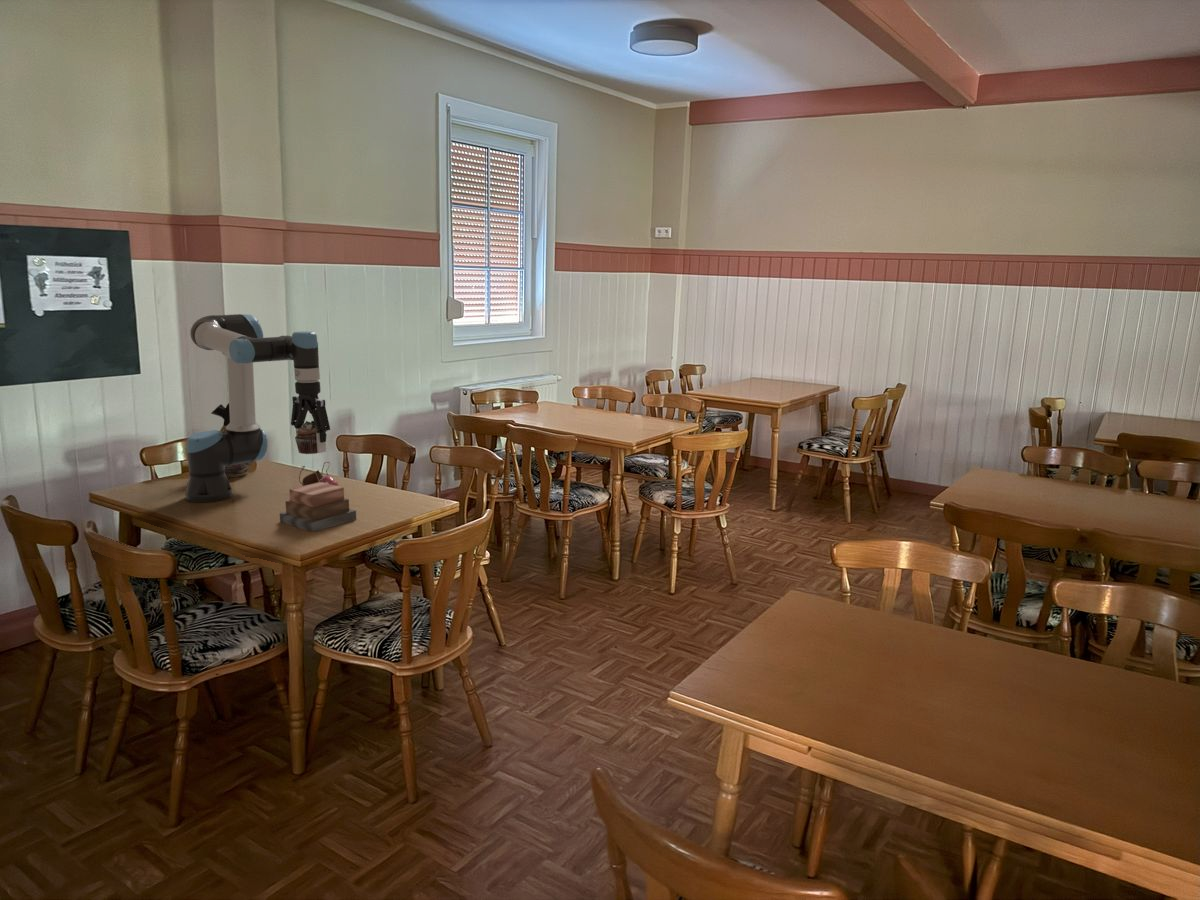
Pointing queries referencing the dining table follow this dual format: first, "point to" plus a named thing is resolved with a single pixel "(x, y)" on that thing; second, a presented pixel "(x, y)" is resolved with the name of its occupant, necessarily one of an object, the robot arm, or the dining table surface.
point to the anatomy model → (317, 477)
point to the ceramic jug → (225, 414)
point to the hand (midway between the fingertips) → (311, 449)
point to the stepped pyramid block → (317, 507)
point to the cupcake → (307, 438)
